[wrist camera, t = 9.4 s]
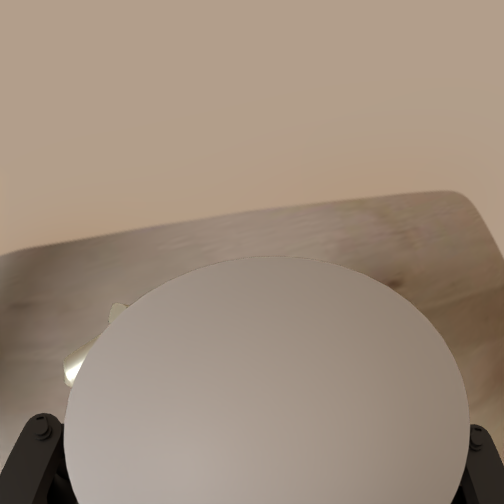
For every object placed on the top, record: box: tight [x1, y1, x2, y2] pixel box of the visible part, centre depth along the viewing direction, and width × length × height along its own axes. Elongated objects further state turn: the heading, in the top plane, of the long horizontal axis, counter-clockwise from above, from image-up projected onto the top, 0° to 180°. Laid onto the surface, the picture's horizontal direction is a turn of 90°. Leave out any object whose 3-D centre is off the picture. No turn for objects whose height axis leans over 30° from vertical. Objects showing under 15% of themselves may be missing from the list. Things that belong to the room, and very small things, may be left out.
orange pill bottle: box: [64, 256, 470, 504], centre depth 10 cm, size 6×6×14 cm
